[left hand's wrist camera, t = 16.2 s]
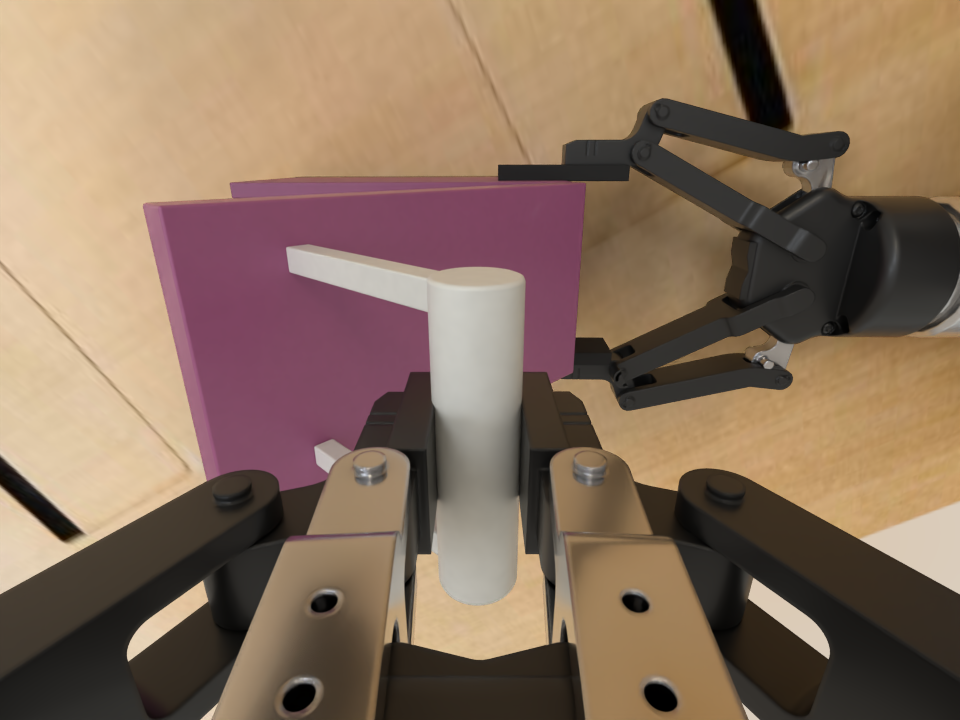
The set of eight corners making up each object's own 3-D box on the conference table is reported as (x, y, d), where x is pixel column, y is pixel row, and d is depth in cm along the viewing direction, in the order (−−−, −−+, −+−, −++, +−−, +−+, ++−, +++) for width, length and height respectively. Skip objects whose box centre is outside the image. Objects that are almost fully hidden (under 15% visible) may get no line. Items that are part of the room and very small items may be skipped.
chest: (318, 312, 37) (259, 362, 28) (301, 176, 33) (228, 182, 24) (545, 313, 36) (562, 364, 27) (551, 176, 33) (572, 181, 24)
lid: (215, 519, 15) (396, 735, 10) (140, 202, 12) (351, 239, 6) (553, 366, 27) (729, 422, 21) (562, 182, 24) (775, 187, 18)
